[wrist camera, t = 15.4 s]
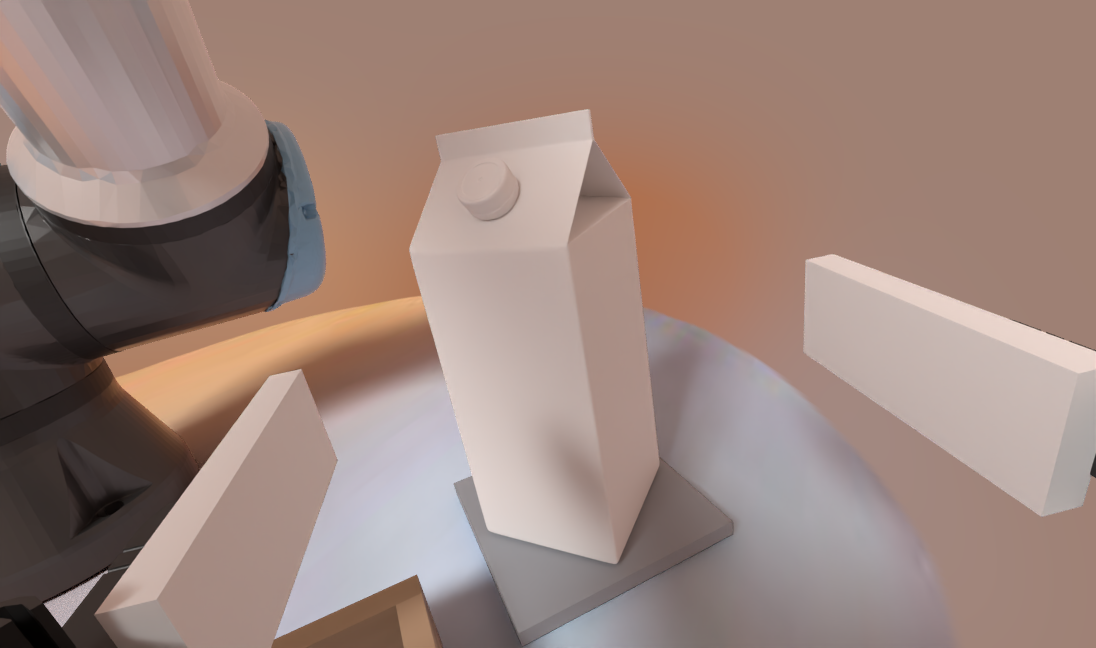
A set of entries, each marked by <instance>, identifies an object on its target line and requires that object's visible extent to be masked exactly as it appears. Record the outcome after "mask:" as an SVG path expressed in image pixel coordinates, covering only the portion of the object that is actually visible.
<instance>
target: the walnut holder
mask: <svg viewBox="0 0 1096 648" xmlns="http://www.w3.org/2000/svg"><path fill="white" fill-rule="evenodd" d="M271 648H443V646H442V642H441V639H440V637H439V634H438V631H437V628H436V626H435V623H434V620H433V617H432V615H431V612H430V609H429V606H428V604H427V601H426V598H425V595H424V593H423V590H422V587H421V584H420V582H419V579H418V576H417V575H415V576H413V577H411V578H408V579H406V580H404V581H402V582H400V583H397V584H395V585H393V586H391V587H389V588H386V589H384V590H382V591H380V592H378V593H375V594H373V595H371V596H369V597H367V598H365V599H362V600H360V601H358V602H356V603H354V604H351V605H349V606H347V607H345V608H343V609H340V610H338V611H336V612H334V613H332V614H329V615H327V616H325V617H323V618H321V619H318V620H316V621H314V622H312V623H310V624H308V625H305V626H303V627H301V628H299V629H297V630H294V631H292V632H290V633H288V634H286V635H283V636H281V637H279V638H277V639H275V640H274V641H273V644H272V647H271Z"/></svg>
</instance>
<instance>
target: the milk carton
mask: <svg viewBox="0 0 1096 648" xmlns="http://www.w3.org/2000/svg"><path fill="white" fill-rule="evenodd" d="M436 142H437V146H438V150H439V154H440V158H441V163H440V166H439V169H438V171H437V174H436V177H435V179H434V182H433V185H432V188H431V190H430V193H429V196H428V198H427V201H426V204H425V207H424V209H423V212H422V215H421V217H420V221H419V223H418V226H417V228H416V231H415V234H414V236H413V239H412V242H411V245H410V249H409V251H410V255H411V260H412V263H413V267H414V271H415V274H416V278H417V282H418V285H419V289H420V292H421V296H422V299H423V303H424V307H425V310H426V314H427V317H428V321H429V324H430V328H431V331H432V335H433V339H434V342H435V346H436V349H437V353H438V356H439V360H440V363H441V367H442V371H443V374H444V378H445V381H446V385H447V388H448V392H449V395H450V399H451V403H452V406H453V410H454V413H455V417H456V420H457V424H458V427H459V431H460V435H461V438H462V442H463V445H464V449H465V452H466V456H467V459H468V463H469V467H470V470H471V474H472V477H473V481H474V484H475V488H476V491H477V495H478V499H479V502H480V506H481V509H482V513H483V516H484V520H485V523H486V527H487V529H488V530H489V531H490V532H493V533H497V534H500V535H504V536H508V537H512V538H515V539H519V540H523V541H527V542H531V543H534V544H538V545H542V546H546V547H550V548H553V549H557V550H561V551H565V552H569V553H572V554H576V555H580V556H584V557H588V558H591V559H595V560H599V561H603V562H607V563H612V564H617V563H618V561H619V559H620V557H621V554H622V552H623V550H624V547H625V545H626V543H627V540H628V538H629V536H630V533H631V531H632V529H633V526H634V524H635V522H636V519H637V517H638V515H639V512H640V510H641V508H642V505H643V503H644V501H645V498H646V496H647V494H648V491H649V489H650V487H651V484H652V482H653V480H654V477H655V475H656V473H657V470H658V468H659V465H660V464H659V453H658V443H657V434H656V425H655V416H654V407H653V398H652V388H651V379H650V370H649V361H648V352H647V343H646V333H645V324H644V315H643V306H642V297H641V288H640V278H639V269H638V260H637V251H636V242H635V232H634V224H633V214H632V205H631V197H630V195H629V194H628V192H627V190H626V189H625V187H624V186H623V184H622V183H621V181H620V179H619V178H618V176H617V175H616V173H615V172H614V170H613V168H612V167H611V165H610V164H609V162H608V161H607V159H606V157H605V156H604V154H603V153H602V151H601V150H600V148H599V147H598V145H597V143H596V142H595V140H594V136H593V129H592V121H591V113H590V110H589V109H586V110H581V111H575V112H569V113H563V114H558V115H552V116H546V117H540V118H534V119H529V120H523V121H517V122H511V123H506V124H501V125H494V126H488V127H482V128H477V129H471V130H465V131H460V132H454V133H448V134H442V135H437V136H436Z"/></svg>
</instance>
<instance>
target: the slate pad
mask: <svg viewBox="0 0 1096 648" xmlns="http://www.w3.org/2000/svg"><path fill="white" fill-rule="evenodd" d="M659 464H660V465H659V468H658V470H657V473H656V475H655V477H654V480H653V482H652V484H651V487H650V489H649V491H648V494H647V496H646V498H645V501H644V503H643V505H642V508H641V510H640V512H639V515H638V517H637V519H636V522H635V524H634V526H633V529H632V531H631V533H630V536H629V538H628V540H627V543H626V545H625V547H624V550H623V552H622V554H621V557H620V559H619V561H618V563H617V564H612V563H607V562H603V561H599V560H595V559H591V558H588V557H584V556H580V555H576V554H572V553H569V552H565V551H561V550H557V549H553V548H550V547H546V546H542V545H538V544H534V543H531V542H527V541H523V540H519V539H515V538H512V537H508V536H504V535H500V534H497V533H493V532H490V531H489V530H488V529H487V527H486V523H485V520H484V516H483V513H482V509H481V506H480V502H479V499H478V495H477V491H476V488H475V484H474V481H473V477H472V476H471V477H468V478H466V479H463V480H461V481H458V482H456V483H454V486H455V489H456V493H457V496H458V498H459V500H460V503H461V505H462V507H463V510H464V512H465V514H466V517H467V519H468V521H469V524H470V526H471V528H472V531H473V533H474V535H475V538H476V540H477V542H478V545H479V547H480V549H481V552H482V554H483V556H484V559H485V561H486V563H487V566H488V568H489V570H490V573H491V575H492V577H493V580H494V582H495V584H496V587H497V589H498V591H499V594H500V596H501V598H502V601H503V603H504V605H505V608H506V610H507V612H508V615H509V617H510V619H511V622H512V624H513V626H514V629H515V631H516V633H517V636H518V638H519V640H520V643H521V645H522V647H523V646H524V645H526V644H528V643H530V642H532V641H534V640H536V639H538V638H539V637H541V636H543V635H545V634H547V633H549V632H551V631H552V630H554V629H556V628H558V627H560V626H562V625H564V624H566V623H567V622H569V621H571V620H573V619H575V618H577V617H579V616H581V615H582V614H584V613H586V612H588V611H590V610H592V609H594V608H596V607H597V606H599V605H601V604H603V603H605V602H607V601H609V600H611V599H612V598H614V597H616V596H618V595H620V594H622V593H624V592H626V591H627V590H629V589H631V588H633V587H635V586H637V585H639V584H641V583H642V582H644V581H646V580H648V579H650V578H652V577H654V576H656V575H657V574H659V573H661V572H663V571H665V570H667V569H669V568H671V567H672V566H674V565H676V564H678V563H680V562H682V561H684V560H686V559H687V558H689V557H691V556H693V555H695V554H697V553H699V552H700V551H702V550H704V549H706V548H708V547H710V546H712V545H714V544H715V543H717V542H719V541H721V540H723V539H725V538H727V537H729V536H730V535H732V534H733V522H732V520H730V519H729V518H728V517H727V516H726V515H725V514H724V513H722V512H721V511H720V510H719V509H718V508H717V507H716V506H714V505H713V504H712V503H711V502H710V501H709V500H708V499H707V498H705V497H704V496H703V495H702V494H701V493H700V492H699V491H697V490H696V489H695V488H694V487H693V486H692V485H691V484H690V483H688V482H687V481H686V480H685V479H684V478H683V477H682V476H680V475H679V474H678V473H677V472H676V471H675V470H674V469H672V468H671V467H670V466H669V465H668V464H667V463H666V462H665V461H663V460H662V459H661V458H660V457H659Z"/></svg>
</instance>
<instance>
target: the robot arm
mask: <svg viewBox="0 0 1096 648" xmlns="http://www.w3.org/2000/svg"><path fill="white" fill-rule="evenodd" d="M0 107H1V108H2V109H3V111H4V112H5V113H6V114H7V116H8V117H9V118H10V119H11V121H12V122H13V123H14V124H15V125H16V127H15V128H14V130H13V131H12V134H11V136H10V138H9V141H8V146H7V151H6V153H7V165H3V166H1V164H0V648H271V647H272V644H273V641H274V638H275V635H276V632H277V630H278V627H279V624H280V621H281V618H282V616H283V613H284V610H285V607H286V604H287V602H288V599H289V596H290V593H291V590H292V588H293V585H294V582H295V579H296V576H297V573H298V571H299V568H300V565H301V562H302V559H303V557H304V554H305V551H306V548H307V545H308V543H309V540H310V537H311V534H312V531H313V529H314V526H315V523H316V520H317V517H318V514H319V512H320V509H321V506H322V503H323V500H324V498H325V495H326V492H327V489H328V486H329V484H330V481H331V478H332V475H333V472H334V470H335V467H336V464H337V461H338V460H337V457H336V455H335V452H334V450H333V447H332V444H331V442H330V439H329V437H328V434H327V432H326V429H325V427H324V424H323V422H322V419H321V417H320V414H319V412H318V409H317V407H316V404H315V402H314V399H313V397H312V394H311V392H310V389H309V387H308V384H307V382H306V379H305V377H304V374H303V372H302V369H299V370H294V371H289V372H285V373H280V374H276V375H271V376H269V377H268V379H267V380H266V381H265V383H264V384H263V385H262V387H261V388H260V389H259V391H258V392H257V394H256V395H255V396H254V398H253V399H252V400H251V402H250V403H249V404H248V406H247V407H246V408H245V410H244V411H243V413H242V414H241V415H240V417H239V418H238V419H237V421H236V422H235V423H234V425H233V426H232V428H231V429H230V430H229V432H228V433H227V434H226V436H225V437H224V438H223V440H222V441H221V443H220V444H219V445H218V447H217V448H216V449H215V451H214V452H213V453H212V455H211V456H210V457H209V459H208V460H207V462H206V463H205V464H204V466H203V467H202V468H201V470H200V471H198V466H197V464H196V462H195V460H194V458H193V456H192V454H191V452H190V451H189V449H188V447H187V445H186V443H185V442H184V441H183V440H182V438H181V437H180V436H179V435H177V434H176V433H175V432H174V431H173V430H171V429H170V428H169V427H168V426H167V425H165V424H164V423H163V422H162V421H161V420H159V419H158V418H157V417H156V416H155V415H153V414H152V413H151V412H150V411H149V410H148V409H146V408H145V407H144V406H143V405H142V404H140V403H139V402H138V401H137V400H136V399H134V398H133V397H132V396H131V395H130V394H128V393H127V392H126V391H125V390H124V389H123V388H122V387H121V386H120V385H119V384H118V382H117V381H116V379H115V377H114V376H113V374H112V372H111V370H110V368H109V367H108V365H107V363H106V361H105V359H104V358H103V356H107V355H110V354H113V353H117V352H121V351H123V350H126V349H129V348H133V347H137V346H140V345H144V344H148V343H151V342H155V341H158V340H162V339H166V338H169V337H173V336H176V335H180V334H184V333H187V332H191V331H195V330H198V329H202V328H206V327H209V326H213V325H216V324H220V323H224V322H227V321H231V320H235V319H238V318H242V317H246V316H249V315H253V314H256V313H260V312H264V311H265V312H268V311H272V310H274V309H276V308H278V307H279V306H281V304H284V303H287V302H290V301H293V300H296V299H298V298H301V297H305V296H307V295H309V294H311V293H313V292H314V291H315V290H317V289H318V288H319V286H320V285H321V283H322V281H323V279H324V275H325V270H326V255H325V244H324V236H323V230H322V225H321V221H320V217H319V214H318V212H317V210H316V201H315V196H314V190H313V186H312V182H311V179H310V175H309V172H308V169H307V166H306V163H305V160H304V157H303V154H302V152H301V150H300V147H299V145H298V143H297V141H296V139H295V137H294V135H293V133H292V132H291V130H290V129H289V128H288V127H287V126H286V125H284V124H283V123H280V122H270V121H267V120H264V118H263V116H262V114H261V112H260V111H259V109H258V108H257V107H256V105H255V104H254V103H253V102H252V101H251V100H250V99H249V97H247V96H246V95H245V94H243V93H242V92H241V91H239V90H238V89H236V88H234V87H233V86H231V85H229V84H227V83H225V82H223V81H221V80H218V78H217V75H216V72H215V70H214V67H213V65H212V62H211V59H210V57H209V54H208V52H207V49H206V47H205V44H204V41H203V39H202V36H201V33H200V31H199V28H198V26H197V23H196V21H195V18H194V15H193V13H192V10H191V7H190V5H189V2H188V0H0ZM804 353H805V354H806V355H808V356H809V357H810V358H812V359H813V360H815V361H816V362H818V363H819V364H821V365H822V366H823V367H825V368H826V369H828V370H829V371H831V372H832V373H834V374H835V375H837V376H838V377H839V378H841V379H842V380H844V381H845V382H847V383H848V384H850V385H851V386H852V387H854V388H855V389H857V390H858V391H860V392H861V393H863V394H864V395H865V396H867V397H868V398H870V399H871V400H873V401H874V402H876V403H877V404H879V405H880V406H882V407H883V408H884V409H886V410H887V411H889V412H890V413H892V414H893V415H895V416H896V417H897V418H899V419H900V420H902V421H903V422H905V423H906V424H908V425H909V426H910V427H912V428H914V429H915V430H916V431H918V432H919V433H921V434H922V435H923V436H925V437H927V438H928V439H929V440H931V441H932V442H934V443H935V444H937V445H938V446H940V447H941V448H942V449H944V450H945V451H947V452H948V453H950V454H951V455H952V456H954V457H955V458H957V459H958V460H960V461H961V462H963V463H964V464H966V465H967V466H969V467H970V468H972V469H973V470H974V471H976V472H977V473H979V474H980V475H982V476H983V477H984V478H986V479H987V480H989V481H990V482H992V483H993V484H995V485H996V486H997V487H999V488H1000V489H1002V490H1003V491H1005V492H1006V493H1008V494H1009V495H1010V496H1012V497H1014V498H1015V499H1016V500H1018V501H1019V502H1021V503H1022V504H1024V505H1025V506H1026V507H1028V508H1029V509H1031V510H1033V511H1034V512H1035V513H1037V514H1038V515H1040V516H1041V517H1043V516H1047V515H1050V514H1054V513H1058V512H1062V511H1066V510H1069V509H1073V508H1077V507H1081V506H1083V503H1084V499H1085V496H1086V492H1087V489H1088V486H1089V482H1090V478H1091V475H1092V476H1094V477H1095V478H1096V350H1093V349H1091V348H1088V347H1085V346H1082V345H1080V344H1077V343H1074V342H1072V341H1066V340H1064V338H1061V337H1058V336H1055V335H1053V334H1050V333H1047V332H1046V333H1045V332H1042V331H1041V330H1039V329H1036V328H1034V327H1031V326H1028V325H1026V324H1023V323H1020V322H1017V321H1015V320H1011V319H1007V318H1004V317H1002V316H999V315H996V314H993V313H991V312H988V311H985V310H983V309H980V308H977V307H975V306H972V305H969V304H966V303H964V302H961V301H958V300H955V299H953V298H950V297H948V296H945V295H942V294H939V293H937V292H934V291H931V290H928V289H926V288H923V287H921V286H918V285H915V284H912V283H910V282H907V281H904V280H902V279H899V278H896V277H893V276H891V275H888V274H885V273H883V272H880V271H877V270H875V269H872V268H869V267H867V266H864V265H861V264H858V263H856V262H853V261H850V260H848V259H845V258H842V257H840V256H837V255H834V254H831V255H826V256H821V257H817V258H812V259H808V260H806V271H805V312H804ZM111 563H112V564H111ZM110 564H111V565H110ZM108 565H110V567H109V568H108V573H107V574H103V576H102V577H101V578H100V579H99V581H98V582H97V583H96V585H95V586H94V587H93V588H92V590H91V591H90V592H89V594H88V595H87V596H86V597H85V599H84V600H83V601H82V603H81V604H80V605H79V606H78V608H77V609H76V610H75V612H74V613H73V614H72V615H71V617H70V618H69V619H68V621H67V622H66V623H65V624H64V626H63V627H61V626H60V625H59V623H58V622H57V621H56V620H55V618H54V617H53V616H52V614H51V613H50V612H49V610H48V609H47V608H46V607H45V605H44V604H43V603H42V601H44V600H46V599H49V598H51V597H53V596H55V595H57V594H59V593H61V592H63V591H65V590H67V589H69V588H71V587H72V586H74V585H76V584H78V583H80V582H82V581H83V580H85V579H87V578H89V577H90V576H92V575H94V574H95V573H97V572H99V571H100V570H102V569H104V568H105V567H107V566H108Z"/></svg>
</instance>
